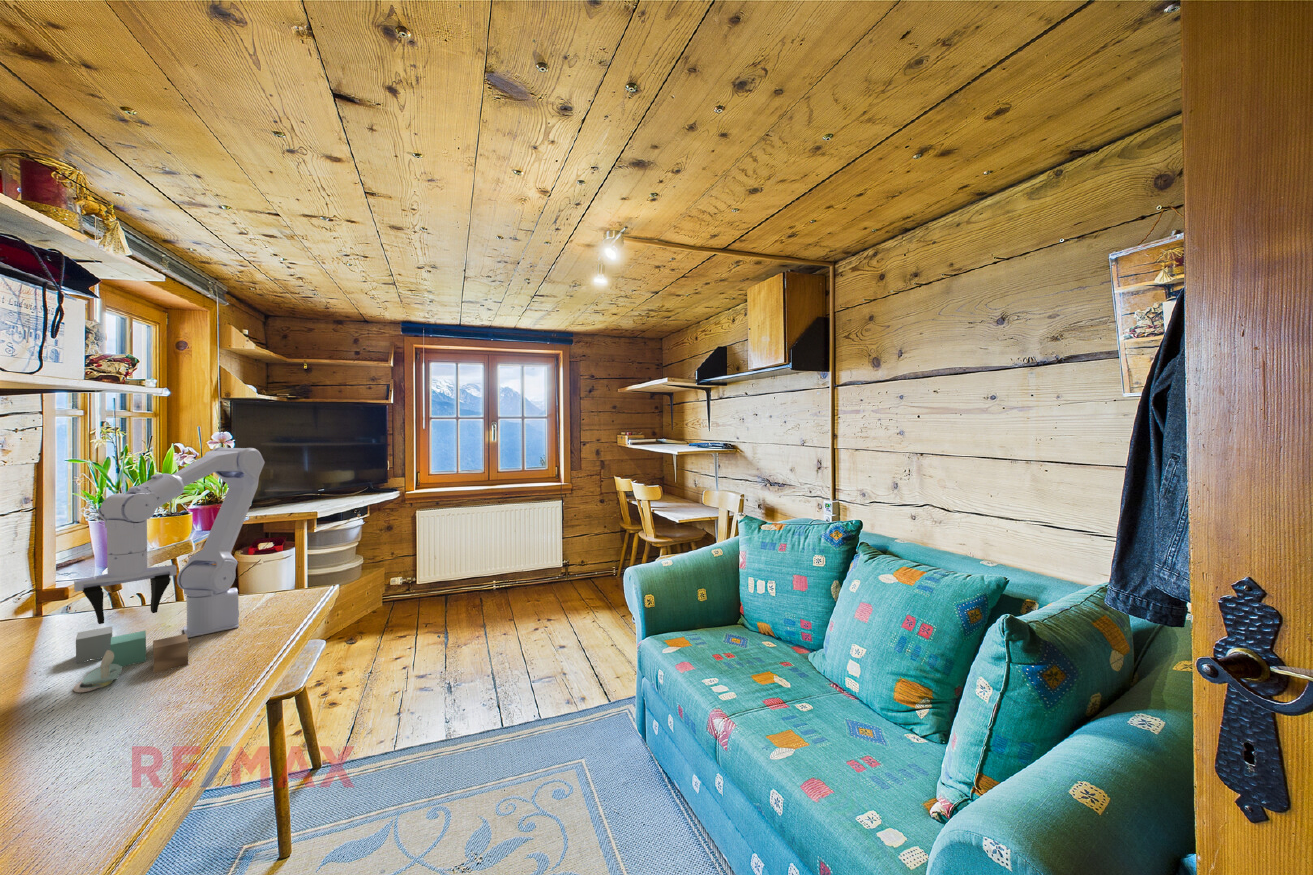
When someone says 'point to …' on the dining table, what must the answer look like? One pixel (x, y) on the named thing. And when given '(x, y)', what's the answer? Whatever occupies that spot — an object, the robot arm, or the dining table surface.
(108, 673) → the pacifier
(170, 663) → the walnut block
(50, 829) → the dining table surface
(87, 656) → the slate block
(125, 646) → the teal block
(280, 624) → the dining table surface
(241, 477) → the robot arm
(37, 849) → the dining table surface
